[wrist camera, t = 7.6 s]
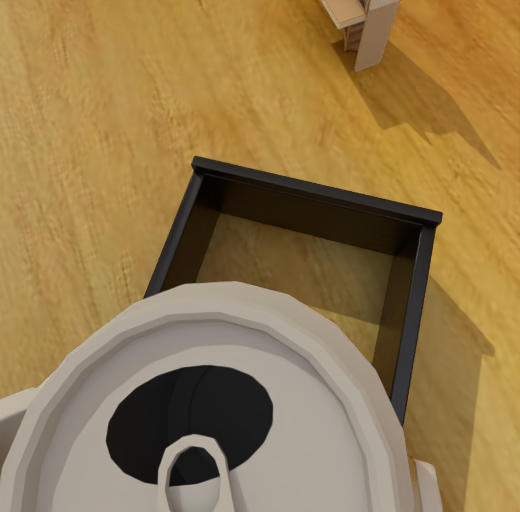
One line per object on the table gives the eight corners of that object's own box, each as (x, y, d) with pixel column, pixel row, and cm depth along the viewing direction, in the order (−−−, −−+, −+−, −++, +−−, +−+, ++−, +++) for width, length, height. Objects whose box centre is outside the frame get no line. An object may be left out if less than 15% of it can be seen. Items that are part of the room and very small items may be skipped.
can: (313, 317, 18) (365, 217, 6) (356, 490, 15) (558, 813, 4) (163, 349, 18) (-49, 305, 6) (184, 527, 15) (-96, 957, 4)
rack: (344, 580, 15) (370, 665, 10) (107, 488, 16) (43, 529, 12) (407, 248, 19) (443, 210, 14) (213, 200, 20) (194, 153, 16)
